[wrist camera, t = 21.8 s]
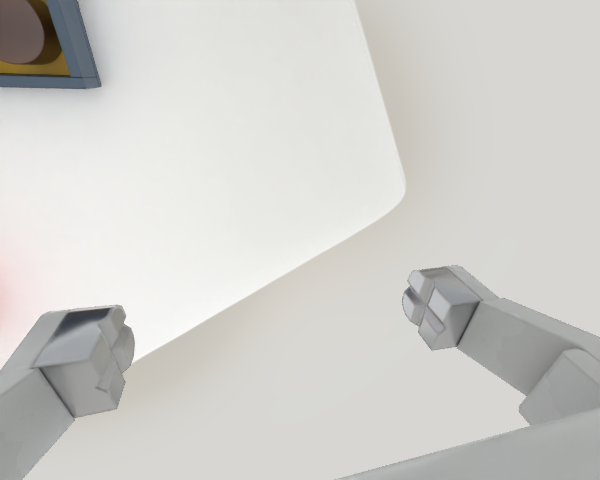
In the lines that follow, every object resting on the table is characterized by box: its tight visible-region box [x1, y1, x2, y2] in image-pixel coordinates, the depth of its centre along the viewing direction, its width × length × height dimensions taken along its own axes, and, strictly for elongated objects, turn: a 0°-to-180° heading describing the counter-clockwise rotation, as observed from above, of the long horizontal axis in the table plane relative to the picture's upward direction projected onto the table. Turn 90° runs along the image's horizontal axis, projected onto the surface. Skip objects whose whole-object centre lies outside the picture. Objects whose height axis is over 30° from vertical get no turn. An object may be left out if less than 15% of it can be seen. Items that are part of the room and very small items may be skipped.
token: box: [0, 0, 62, 65], centre depth 21 cm, size 5×5×3 cm
